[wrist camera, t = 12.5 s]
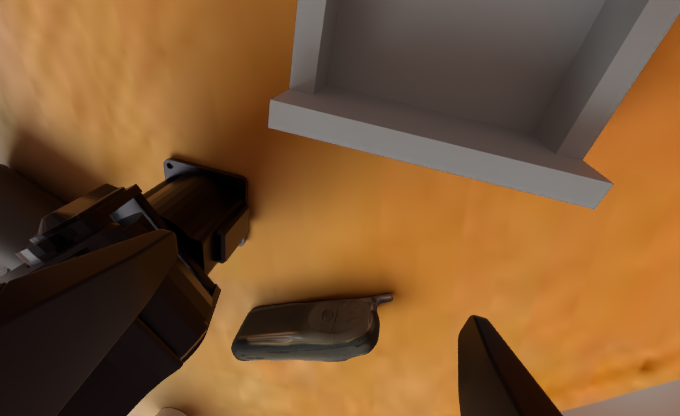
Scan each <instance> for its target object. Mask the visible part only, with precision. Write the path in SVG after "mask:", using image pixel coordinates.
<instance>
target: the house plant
mask: <svg viewBox="0 0 680 416" xmlns="http://www.w3.org/2000/svg"><path fill="white" fill-rule="evenodd" d="M156 416H187V415H186V414H184V413H183V412H181V411H179V410H176V409H173V408H162V409H161V410H160V411H159V412H158V414H157V415H156Z"/></svg>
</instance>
